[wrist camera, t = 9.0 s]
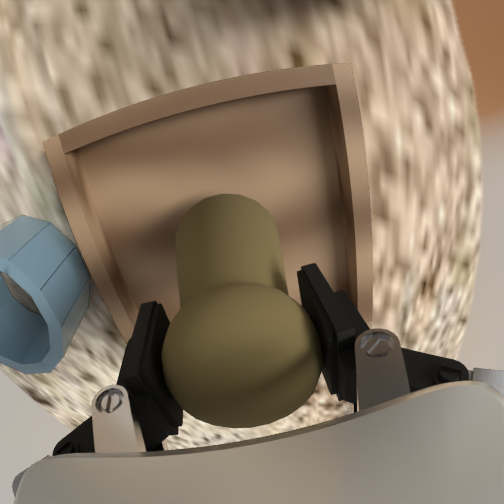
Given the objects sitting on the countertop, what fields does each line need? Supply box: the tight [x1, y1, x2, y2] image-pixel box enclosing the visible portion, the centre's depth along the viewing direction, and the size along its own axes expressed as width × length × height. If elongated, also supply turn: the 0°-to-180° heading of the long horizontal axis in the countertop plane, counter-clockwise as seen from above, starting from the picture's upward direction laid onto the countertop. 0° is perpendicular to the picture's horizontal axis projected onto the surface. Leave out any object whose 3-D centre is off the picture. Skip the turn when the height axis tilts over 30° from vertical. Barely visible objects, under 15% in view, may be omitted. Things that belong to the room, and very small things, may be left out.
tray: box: [43, 63, 373, 344], centre depth 20 cm, size 18×18×3 cm
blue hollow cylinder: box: [0, 215, 90, 374], centre depth 18 cm, size 10×10×6 cm
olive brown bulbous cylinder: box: [161, 194, 323, 428], centre depth 13 cm, size 6×6×11 cm
